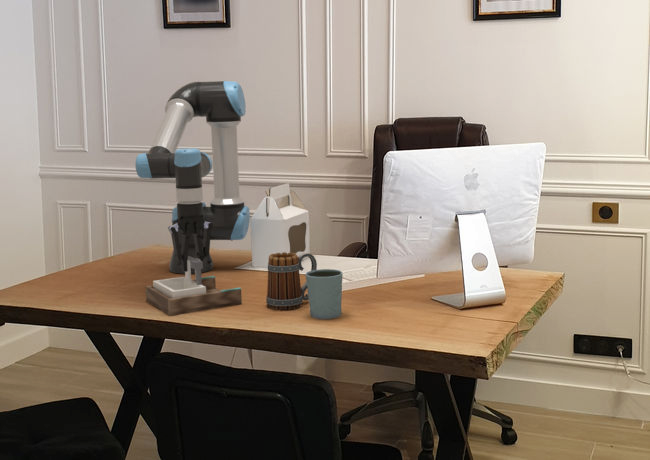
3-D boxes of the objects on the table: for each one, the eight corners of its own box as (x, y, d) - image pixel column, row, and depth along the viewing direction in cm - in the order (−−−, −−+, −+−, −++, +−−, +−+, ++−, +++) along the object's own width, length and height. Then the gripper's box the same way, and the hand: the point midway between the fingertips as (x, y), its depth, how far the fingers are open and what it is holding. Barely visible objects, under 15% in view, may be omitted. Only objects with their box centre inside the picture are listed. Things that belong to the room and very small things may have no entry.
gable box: (277, 255, 317) (275, 181, 312) (310, 257, 312) (308, 182, 307) (251, 267, 297) (248, 188, 292) (285, 269, 292) (283, 189, 287)
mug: (275, 312, 236) (273, 260, 233) (260, 304, 245) (258, 254, 242) (324, 305, 243) (323, 254, 240) (308, 297, 252) (307, 248, 249)
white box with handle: (187, 292, 256) (185, 254, 254) (208, 303, 242) (207, 263, 240) (153, 297, 250) (151, 258, 248) (173, 308, 237) (171, 268, 235)
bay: (214, 290, 262) (213, 275, 262) (241, 304, 245) (241, 288, 245) (146, 301, 251) (145, 285, 250) (170, 315, 234) (169, 299, 234)
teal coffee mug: (347, 318, 229) (347, 275, 227) (312, 321, 226) (311, 278, 224) (336, 308, 238) (336, 267, 236) (302, 312, 235) (301, 270, 233)
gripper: (209, 198, 251) (212, 275, 254) (159, 203, 243) (163, 282, 247) (219, 201, 244) (222, 280, 248) (168, 205, 236) (172, 287, 240)
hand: (193, 281), depth 247 cm, fingers closed on white box with handle, 2 cm apart
